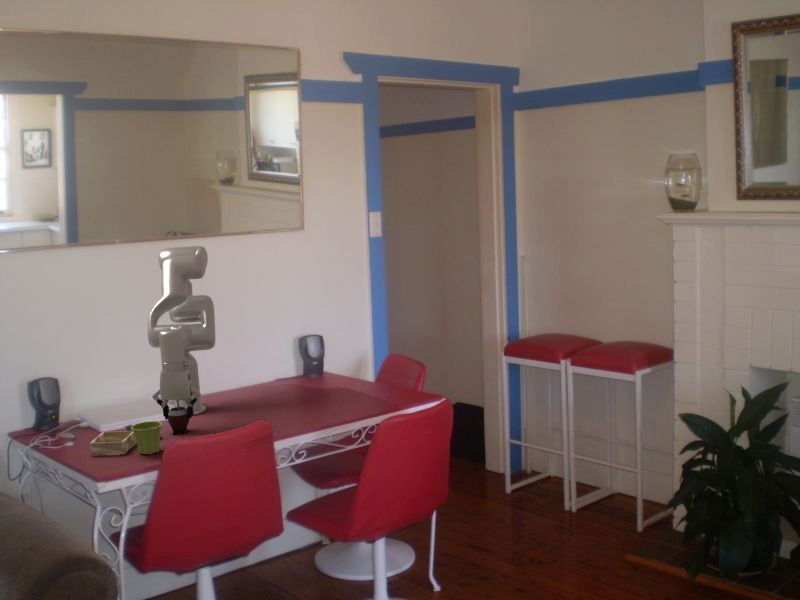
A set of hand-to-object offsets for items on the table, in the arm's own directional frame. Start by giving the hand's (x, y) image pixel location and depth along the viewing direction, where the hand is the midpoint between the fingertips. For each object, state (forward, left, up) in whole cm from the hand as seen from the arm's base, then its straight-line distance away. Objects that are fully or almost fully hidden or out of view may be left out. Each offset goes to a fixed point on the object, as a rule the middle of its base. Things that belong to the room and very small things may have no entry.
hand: (178, 417), depth 314 cm
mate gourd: (0, 0, -5) cm, 5 cm away
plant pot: (+20, -4, -5) cm, 21 cm away
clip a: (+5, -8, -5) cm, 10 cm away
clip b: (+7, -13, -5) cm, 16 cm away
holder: (+16, -17, -5) cm, 24 cm away
